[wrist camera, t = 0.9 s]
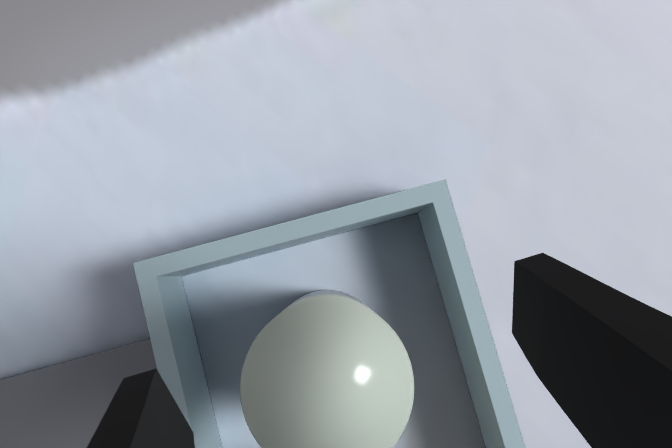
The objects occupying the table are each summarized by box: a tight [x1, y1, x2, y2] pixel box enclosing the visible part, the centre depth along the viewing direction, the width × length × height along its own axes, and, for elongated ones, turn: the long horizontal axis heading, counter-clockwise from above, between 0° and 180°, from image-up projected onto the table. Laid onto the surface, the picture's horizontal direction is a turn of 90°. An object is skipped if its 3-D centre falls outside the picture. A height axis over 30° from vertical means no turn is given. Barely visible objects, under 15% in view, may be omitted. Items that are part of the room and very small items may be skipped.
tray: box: [133, 179, 526, 448], centre depth 21 cm, size 18×14×4 cm
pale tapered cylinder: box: [240, 290, 414, 448], centre depth 19 cm, size 5×5×9 cm
